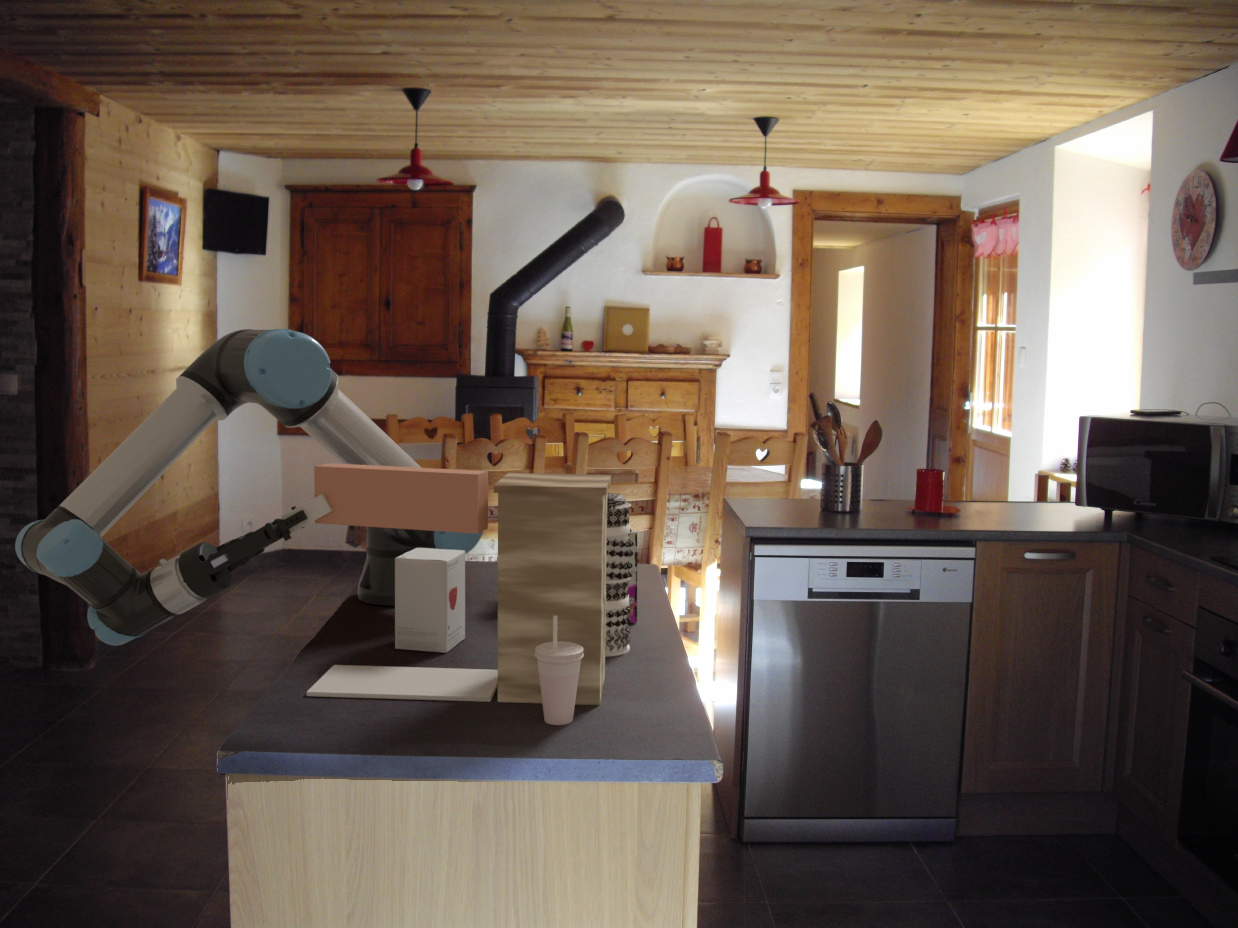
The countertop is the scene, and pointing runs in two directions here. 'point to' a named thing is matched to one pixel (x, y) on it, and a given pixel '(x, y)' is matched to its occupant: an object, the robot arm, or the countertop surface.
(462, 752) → the countertop surface
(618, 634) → the decorative candle
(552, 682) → the smoothie
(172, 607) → the robot arm
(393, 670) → the mat
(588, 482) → the stand
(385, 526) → the block
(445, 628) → the supplement box
